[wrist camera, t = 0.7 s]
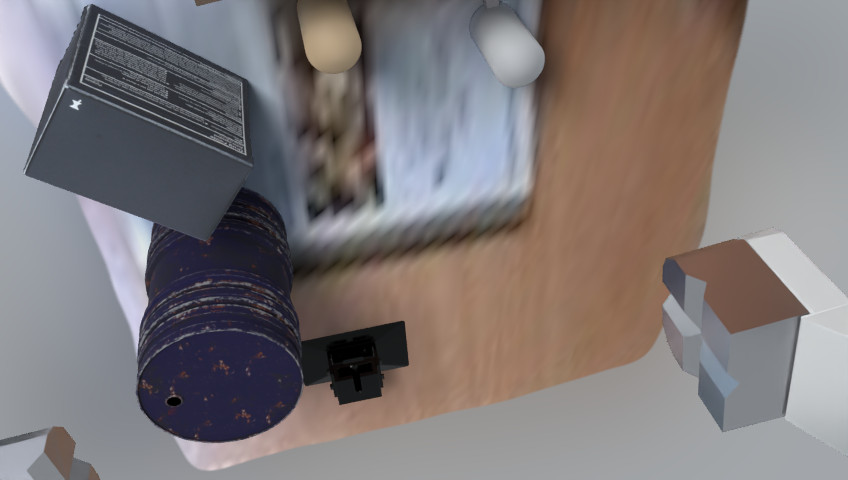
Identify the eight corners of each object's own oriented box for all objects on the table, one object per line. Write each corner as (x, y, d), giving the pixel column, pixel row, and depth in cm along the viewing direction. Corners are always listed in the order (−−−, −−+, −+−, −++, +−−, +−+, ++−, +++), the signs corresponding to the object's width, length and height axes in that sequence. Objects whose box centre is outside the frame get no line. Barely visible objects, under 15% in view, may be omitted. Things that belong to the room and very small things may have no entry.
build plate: (418, 306, 68) (429, 344, 65) (424, 364, 73) (435, 403, 69) (272, 335, 67) (276, 376, 63) (287, 393, 71) (292, 434, 68)
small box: (47, 87, 50) (14, 179, 42) (87, -2, 47) (61, 77, 39) (206, 155, 55) (205, 248, 47) (251, 78, 52) (258, 163, 44)
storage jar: (269, 168, 56) (283, 310, 45) (302, 272, 63) (322, 420, 51) (128, 201, 56) (105, 354, 44) (175, 303, 62) (167, 460, 50)
